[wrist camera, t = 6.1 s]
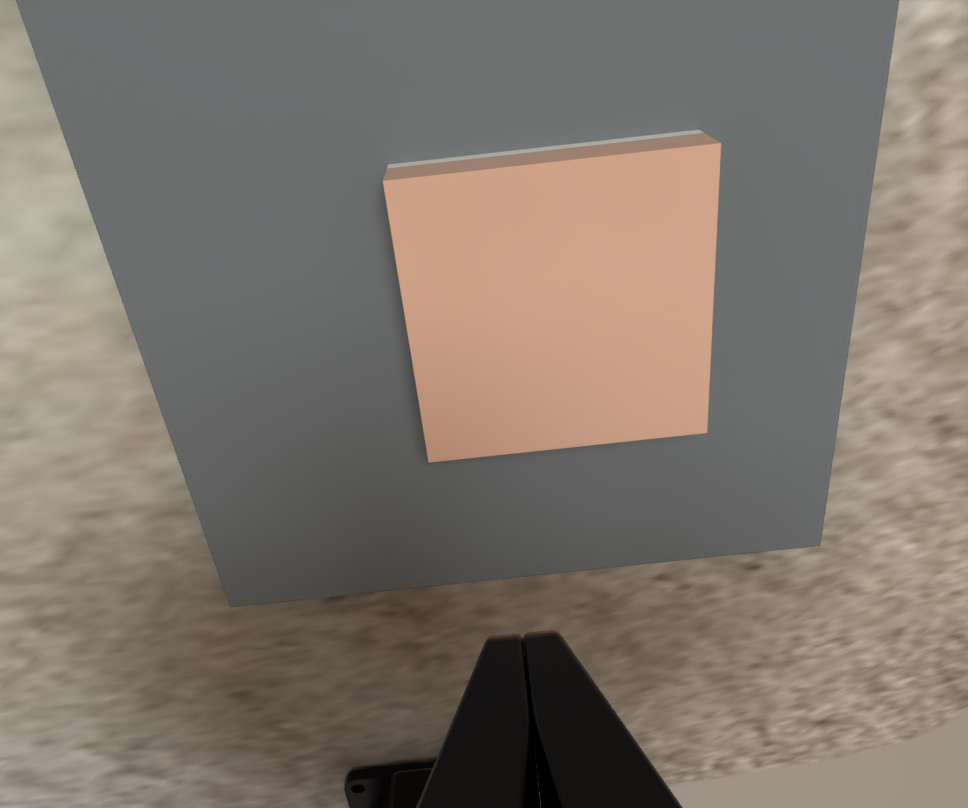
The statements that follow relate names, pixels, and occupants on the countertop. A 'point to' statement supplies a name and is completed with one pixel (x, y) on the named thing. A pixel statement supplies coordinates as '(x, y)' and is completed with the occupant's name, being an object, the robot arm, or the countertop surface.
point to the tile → (559, 292)
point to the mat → (374, 278)
